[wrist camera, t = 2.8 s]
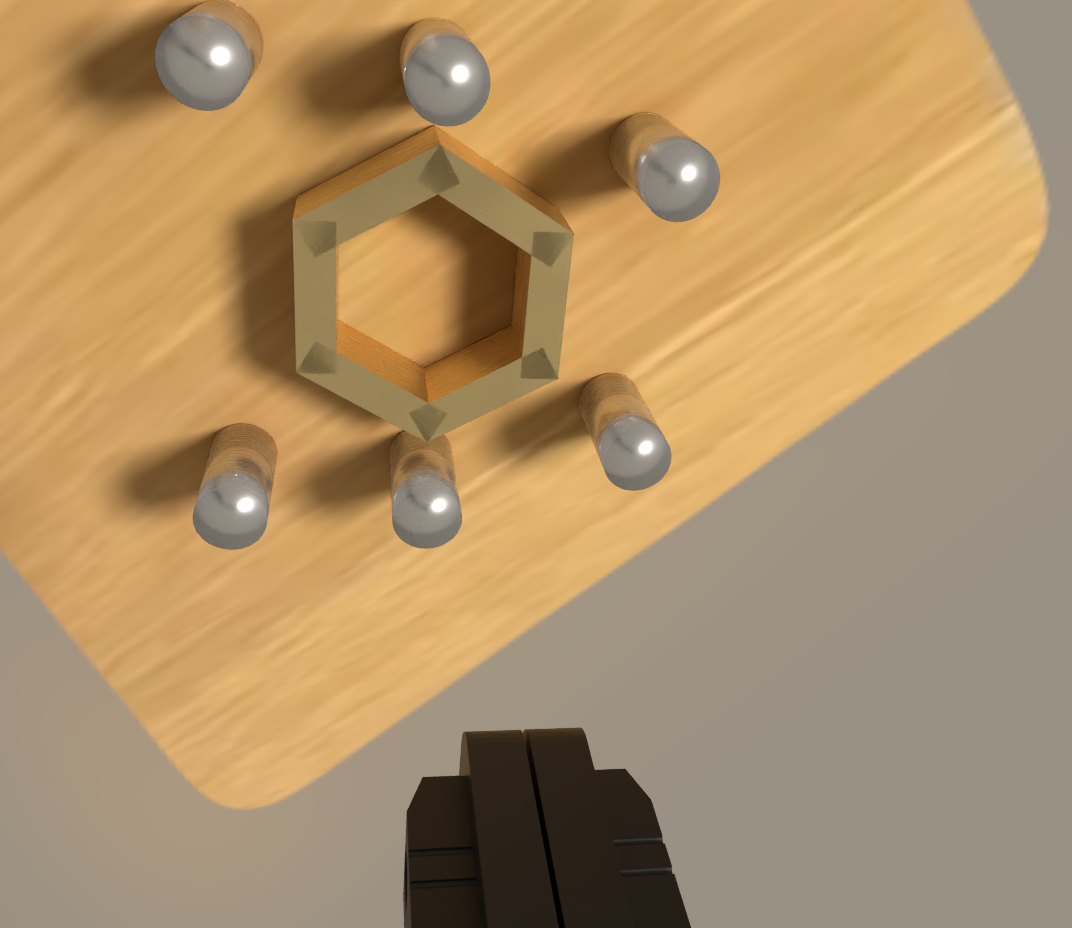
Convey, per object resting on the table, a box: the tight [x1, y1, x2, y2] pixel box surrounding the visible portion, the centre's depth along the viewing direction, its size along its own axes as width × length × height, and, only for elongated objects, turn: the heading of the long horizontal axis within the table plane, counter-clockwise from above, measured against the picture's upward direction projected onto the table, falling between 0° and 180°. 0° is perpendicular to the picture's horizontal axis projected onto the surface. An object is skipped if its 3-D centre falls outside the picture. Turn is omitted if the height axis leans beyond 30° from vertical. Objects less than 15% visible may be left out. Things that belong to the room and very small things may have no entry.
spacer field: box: [155, 0, 720, 550], centre depth 28 cm, size 14×14×4 cm
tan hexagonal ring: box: [292, 125, 574, 443], centre depth 29 cm, size 7×9×2 cm
